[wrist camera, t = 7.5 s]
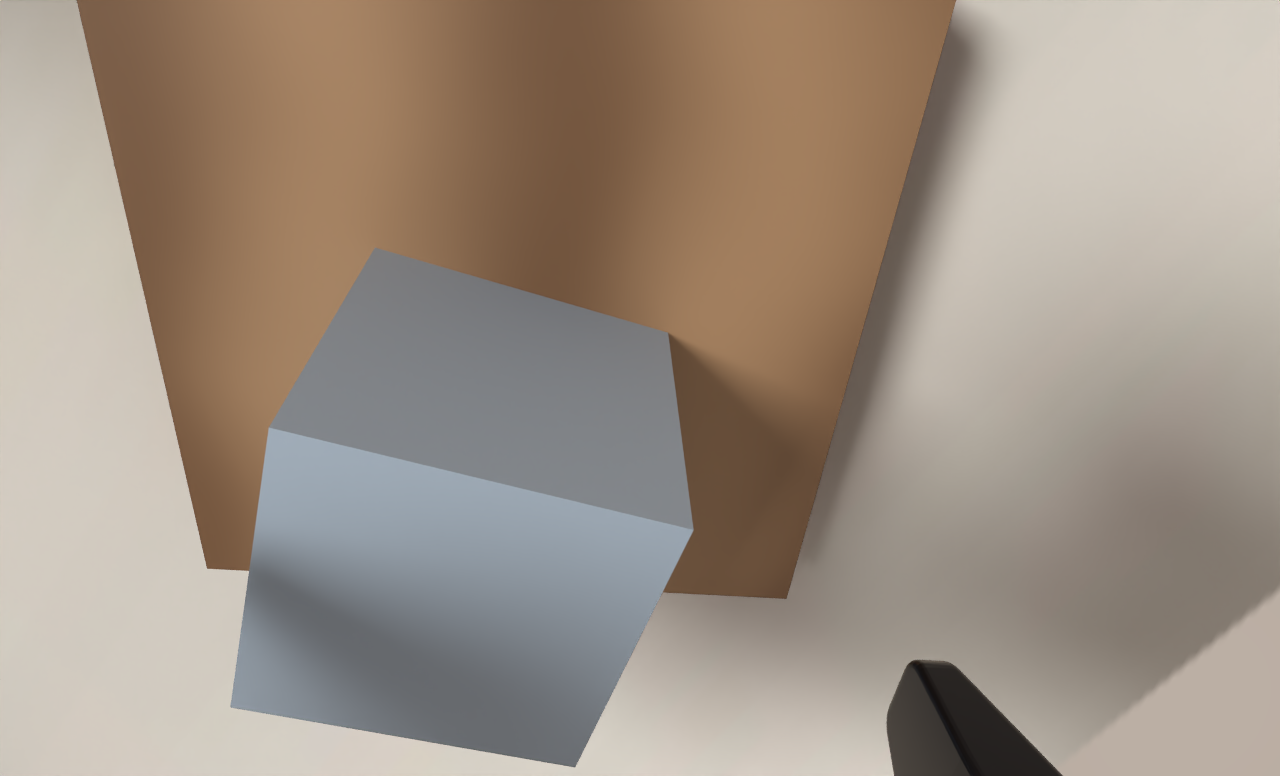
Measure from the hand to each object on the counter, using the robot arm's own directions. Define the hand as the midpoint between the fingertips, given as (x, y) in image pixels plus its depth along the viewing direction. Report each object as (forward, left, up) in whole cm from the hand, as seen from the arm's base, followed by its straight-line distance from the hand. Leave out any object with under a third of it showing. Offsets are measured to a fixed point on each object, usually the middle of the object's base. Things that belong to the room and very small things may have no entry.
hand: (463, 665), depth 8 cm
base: (0, 0, -10) cm, 10 cm away
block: (-1, -2, -7) cm, 7 cm away
